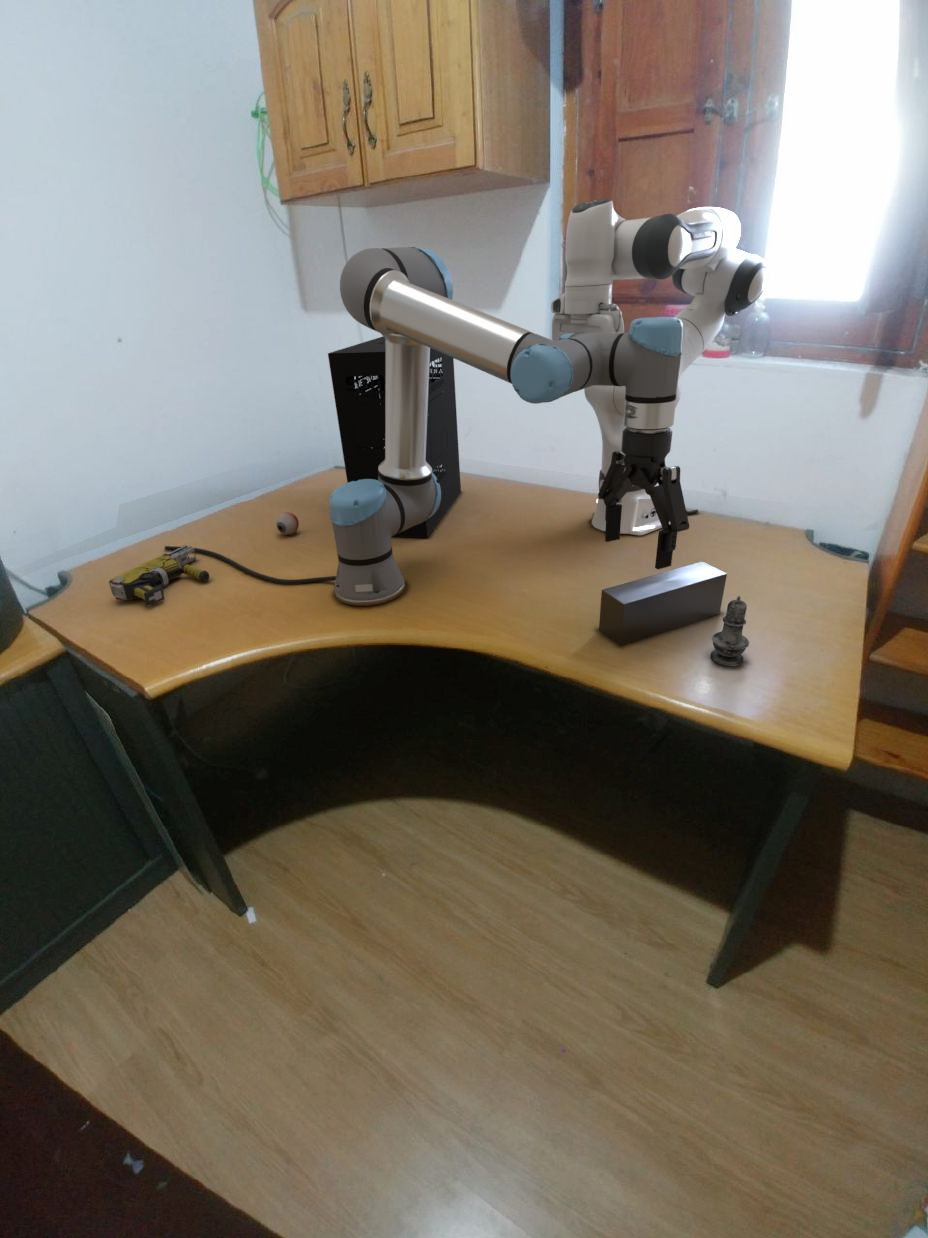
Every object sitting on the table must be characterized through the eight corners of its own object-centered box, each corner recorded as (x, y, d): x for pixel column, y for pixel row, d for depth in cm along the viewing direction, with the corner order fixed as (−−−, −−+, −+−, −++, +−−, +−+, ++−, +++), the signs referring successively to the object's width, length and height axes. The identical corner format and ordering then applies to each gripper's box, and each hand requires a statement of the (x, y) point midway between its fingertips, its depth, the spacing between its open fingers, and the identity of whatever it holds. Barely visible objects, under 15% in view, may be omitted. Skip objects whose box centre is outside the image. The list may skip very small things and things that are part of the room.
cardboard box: (427, 537, 157) (411, 350, 135) (355, 534, 162) (327, 353, 139) (460, 491, 189) (452, 333, 166) (399, 490, 194) (383, 336, 171)
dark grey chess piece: (748, 668, 101) (762, 605, 95) (711, 665, 102) (722, 603, 96) (741, 649, 106) (754, 588, 100) (706, 647, 107) (717, 586, 101)
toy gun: (232, 553, 147) (182, 542, 151) (158, 593, 127) (102, 580, 131) (234, 570, 150) (185, 559, 154) (162, 613, 130) (107, 599, 134)
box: (695, 600, 122) (702, 561, 118) (719, 613, 117) (727, 573, 113) (598, 630, 114) (601, 589, 110) (619, 646, 109) (623, 604, 105)
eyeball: (273, 537, 164) (268, 516, 161) (287, 528, 169) (282, 508, 166) (291, 539, 161) (286, 518, 158) (305, 530, 166) (301, 510, 163)
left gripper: (581, 418, 103) (577, 534, 113) (685, 447, 83) (668, 585, 93) (617, 412, 105) (610, 526, 116) (727, 439, 85) (705, 574, 96)
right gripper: (635, 301, 108) (630, 383, 115) (573, 300, 124) (571, 371, 131) (606, 305, 106) (602, 388, 113) (546, 302, 122) (546, 375, 129)
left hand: (636, 553), depth 105 cm, fingers open, 13 cm apart
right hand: (585, 379), depth 122 cm, fingers open, 8 cm apart
